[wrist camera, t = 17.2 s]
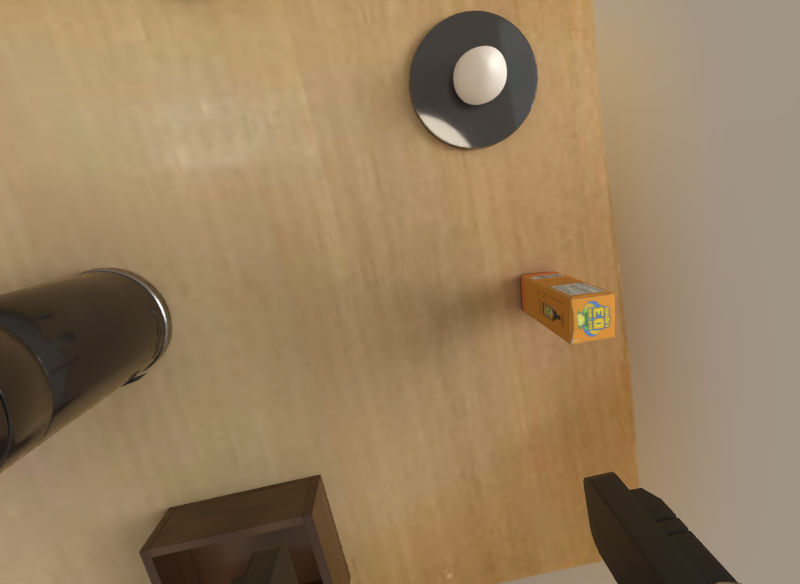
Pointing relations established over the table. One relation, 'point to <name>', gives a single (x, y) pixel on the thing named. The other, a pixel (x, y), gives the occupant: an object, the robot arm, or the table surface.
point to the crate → (247, 536)
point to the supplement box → (569, 306)
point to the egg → (480, 75)
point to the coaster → (436, 84)
